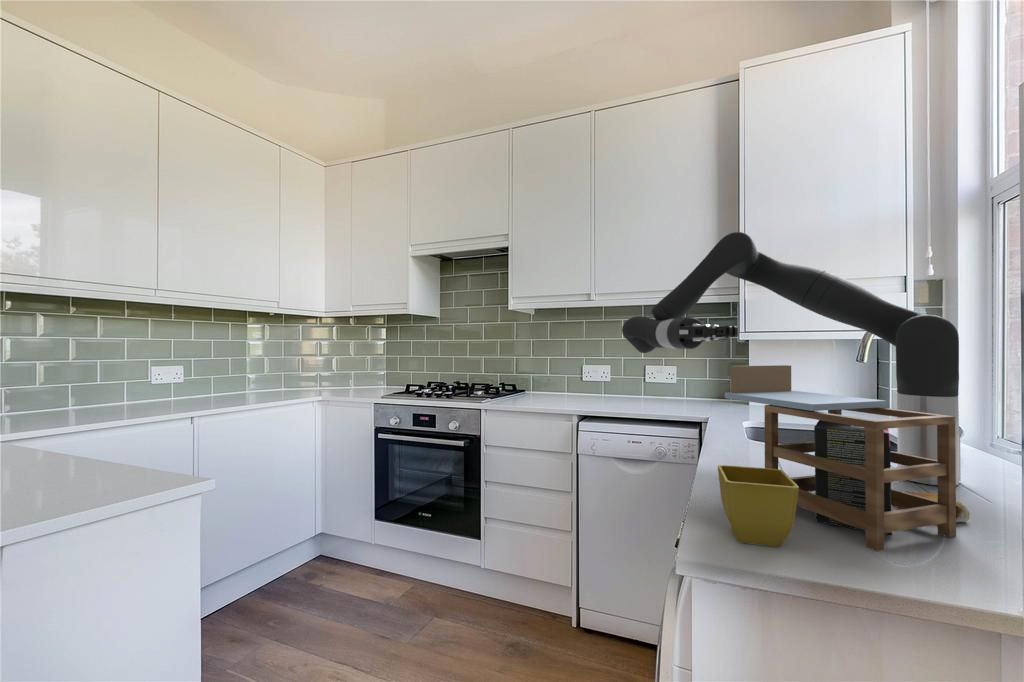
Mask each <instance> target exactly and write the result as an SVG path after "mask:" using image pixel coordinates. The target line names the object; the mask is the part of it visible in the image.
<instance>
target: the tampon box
mask: <svg viewBox="0 0 1024 682" xmlns="http://www.w3.org/2000/svg"><path fill="white" fill-rule="evenodd" d="M813 430H814V433H813V437H814V438H813V440H814V441H815V452H814V455H815V456H819V457H823V458H827V459H831V460H835V461H839V462H843V463H847V464H851V465H856V466H860V467H864V468H865V427H858V426H852V425H846V424H840V423H834V422H828V421H822V420H817V423H816V424H815V425H814V429H813ZM890 451H891V439H890V433H889V428H888V429H884V469H886V468H892V467H891V464H892V462H890ZM814 475H815V492H814V494H815V495H818V496H821V497H824V498H827V499H830V500H834V501H837V502H840V503H843V504H846V505H849V506H852V507H855V508H858V509H861V510H864V511H866V489H865V481H863V480H859V479H855V478H852V477H848V476H844V475H840V474H837V473H833V472H829V471H826V470H822V469H818V468H815V467H814ZM891 488H892V482H888V483H884V512H889V511H892V505H891ZM814 513H815V522H819V523H824V524H825V523H826V524H828V525H829V524H830V525H833V526H838V527H844V528H849V529H854V530H858V531H862V532H863V531H864V530H862V529H859V528H856V527H854V526H851V525H848V524H845V523H843V522H840V521H837V520H835V519H832V518H829V517H827V516H824V515H821V514H819V513H816V512H814ZM864 532H865V531H864ZM884 536H889V537H890V536H891V537H892V536H893V532H890V533H884Z"/></svg>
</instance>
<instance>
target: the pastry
mask: <svg viewBox="0 0 1024 682" xmlns="http://www.w3.org/2000/svg"><path fill="white" fill-rule="evenodd" d="M904 492H907V493H910V494H914V495H918V496H921V497H925V498H929V499H932V500H936V501H938V493H935V492H928V491H919V492H918V491H904ZM970 515H971V514H970V511H969V510H968V508H967V506H966V505H964V504H963V503H962V502H961V500H960V501H959V500H956V522H962V523H965V522H967V521H969V519H970Z"/></svg>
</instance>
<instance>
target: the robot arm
mask: <svg viewBox="0 0 1024 682" xmlns="http://www.w3.org/2000/svg"><path fill="white" fill-rule="evenodd" d="M726 274H727V275H729V276H731V277H734V278H737V279H741V280H744V281H747V282H750V283H753V284H755V285H758V286H761V287H763V288H766V289H767V290H769V291H771V292H773V293H775V294H777V295H778V296H780V297H782V298H784V299H786V300H788V301H790V302H792V303H794V304H796V305H798V306H800V307H802V308H804V309H806V310H809V311H811V312H813V313H814V314H818V315H820V316H822V317H825V318H827V319H830V320H833V321H835V322H839V323H841V324H845V325H847V326H850V327H851V326H852V327H854V328H858V329H860V330H863V331H865V332H868V333H870V334H872V335H874V336H876V337H878V338H880V339H881V340H884V341H885V342H887V343H889V344H891V345H892V346H894V347H895V377H896V400H897V401H896V409H898V410H906V411H914V412H923V413H931V414H939V415H947V416H955V446H956V486H959V485H960V482H961V478H962V477H961V474H962V473H961V434H960V432H959V431H960V430H959V429H960V428H959V426H960V422H959V421H960V418H959V417H960V414H959V412H960V411H959V408H960V407H959V405H960V404H959V392H960V390H959V389H960V387H959V385H960V339H959V332H958V330H957V327H956V326H955V325H954V324H953V323H952V322H951V321H950V320H949V319H946V318H944V317H943V316H939V315H935V314H925V313H921V312H918V311H914V310H911V309H908V308H905V307H903V306H900V305H896V304H894V303H891V302H889V301H887V300H885V299H882V298H880V297H879V296H877V294H874V293H872V292H871V291H869V290H867V289H865V288H863V287H862V286H860V285H858V284H856V283H854V282H852V281H850V280H848V279H846V278H844V277H842V276H839V275H837V274H835V273H831V272H829V271H826V270H824V269H822V268H821V269H820V268H818V267H815V266H809V265H804V264H794V263H788V262H783V261H780V260H778V259H775V258H774V257H771V256H769V255H767V254H765V253H763V252H761V251H760V250H758V249H757V247H756V243H755V242H754V240H753V238H752V237H751V235H749V234H748V233H746V232H742V231H734V232H730V233H727V234H726V235H725V236H723V237H722V238H721V239H720V240H719V241H718V242H717V243H716V244H715V246H714V247H713V248H712V249H711V250H710V251H709V252H708V253H707V255H706V256H705V257H704V258H703V259H702V260H701V261H700V263H699V264H698V265H697V266H696V267H695V268H694V269H693V270H692V271H691V272H690V273H689V274H688V276H686V277H685V278H684V279H683V280H681V282H680V283H679V284H678V285H677V286H675V288H674V289H673V290H671V291H670V292H668V294H667V295H665V296H664V297H663V298H662V299H660V300H659V301H658V302H657V303H656V304H655V305H654V306H653V307H652V308H651V309H650V310H651V312H650V313H651V314H652V316H653V317H654V318H651V317H646V316H643V315H641V316H638V315H637V316H632V317H630V318H627V320H626V321H625V322H624V323H623V325H622V327H621V333H622V335H623V337H624V338H625V339H626V341H628V343H629V344H630V345H632V346H633V347H634V348H635V350H637V352H639V353H641V354H647V353H650V352H652V351H653V350H655V349H657V348H658V349H659V348H662V349H664V348H667V349H673V350H693V349H694V350H695V349H696V348H698V347H699V346H700V345H701V344H702V343H703V342H710V341H719V339H722V340H723V339H724V340H725V339H729V338H731V337H732V338H734V337H735V338H736V337H737V336H738V335H739V331H738V329H739V328H738V326H737V325H721V326H720V325H719V324H710V323H703V322H701V321H700V320H699V319H698V318H696V317H694V316H685V315H686V314H688V313H689V312H690V311H691V310H693V308H694V307H695V306H696V304H697V303H698V302H699V301H700V299H701V298H702V297H703V296H704V294H705V293H706V291H707V290H708V289H709V288H710V287H711V286H712V285H713V284H714V283H715V282H716V281H717V280H718V279H719V278H720V277H722V276H723V275H726ZM684 316H685V317H684ZM896 418H901V417H896ZM896 429H897V430H896V431H897V432H896V433H897V434H896V435H897V438H896V439H897V452H898V453H903V454H908V455H913V456H918V457H923V458H928V459H933V460H937V425H928V426H915V427H902V428H896ZM904 466H905V465H901V464H897V467H904ZM909 481H910V482H914V483H920V484H925V485H932V486H938V483H937V476H936V477H928V478H920V479H912V480H909Z"/></svg>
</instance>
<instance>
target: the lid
mask: <svg viewBox="0 0 1024 682" xmlns="http://www.w3.org/2000/svg"><path fill="white" fill-rule="evenodd" d="M724 399H729V400H735V401H742V402H748V403H755V404H763V405H775V406H782V407H789V408H796V409H803V410H809V411H817V412H823V411H828V410H840V409H859V408H877V407H881V408H888V400H883V399H873V398H865V397H856V396H855V397H854V396H844V395H836V394H827V393H826V394H825V393H816V392H809V391H806V392H805V391H799V390H792V365H789V364H788V365H787V364H785V365H784V364H782V365H781V364H780V365H779V364H778V365H777V364H776V365H773V364H772V365H770V364H768V365H731V366H730V392H724Z"/></svg>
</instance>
